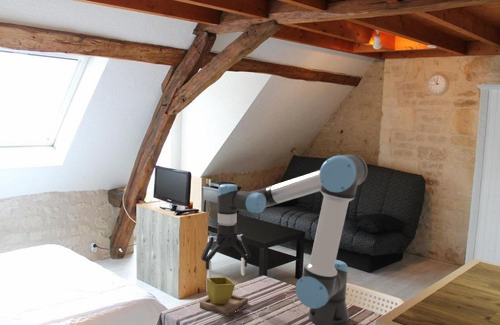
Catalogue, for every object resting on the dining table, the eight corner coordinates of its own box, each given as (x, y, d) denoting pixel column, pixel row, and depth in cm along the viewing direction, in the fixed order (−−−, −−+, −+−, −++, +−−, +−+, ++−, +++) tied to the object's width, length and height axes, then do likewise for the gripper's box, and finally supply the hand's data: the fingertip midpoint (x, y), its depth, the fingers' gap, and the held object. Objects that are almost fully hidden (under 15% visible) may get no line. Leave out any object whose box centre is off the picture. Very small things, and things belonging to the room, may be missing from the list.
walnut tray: (247, 303, 190) (247, 298, 190) (230, 315, 178) (230, 310, 178) (218, 296, 197) (218, 291, 197) (199, 307, 184) (199, 302, 184)
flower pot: (212, 307, 180) (215, 284, 180) (203, 298, 188) (206, 277, 188) (232, 306, 185) (235, 284, 184) (222, 298, 192) (225, 276, 192)
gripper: (254, 220, 191) (253, 270, 193) (194, 222, 184) (193, 275, 186) (260, 224, 184) (258, 276, 186) (197, 227, 177) (197, 281, 179)
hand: (226, 276), depth 186 cm, fingers open, 13 cm apart
